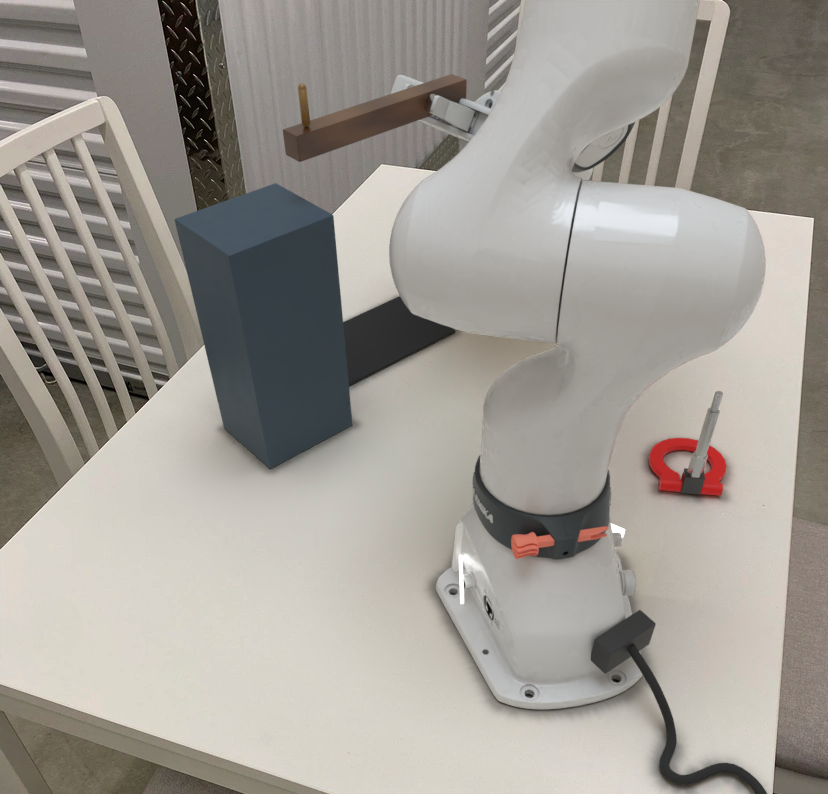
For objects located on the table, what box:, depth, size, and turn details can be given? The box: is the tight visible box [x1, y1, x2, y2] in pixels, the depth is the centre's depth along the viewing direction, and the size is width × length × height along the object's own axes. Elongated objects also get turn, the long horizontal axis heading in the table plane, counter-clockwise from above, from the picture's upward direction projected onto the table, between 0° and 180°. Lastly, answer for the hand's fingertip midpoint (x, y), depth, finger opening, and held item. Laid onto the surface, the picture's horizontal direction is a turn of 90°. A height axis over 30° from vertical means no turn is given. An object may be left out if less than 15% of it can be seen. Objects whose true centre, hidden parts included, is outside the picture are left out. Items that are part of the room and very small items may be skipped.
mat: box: [343, 295, 456, 387], centre depth 111 cm, size 20×12×1 cm, turn 131°
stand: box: [173, 182, 353, 470], centre depth 89 cm, size 12×10×26 cm
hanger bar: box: [282, 73, 468, 163], centre depth 82 cm, size 22×2×6 cm, turn 131°
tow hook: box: [648, 390, 728, 497], centre depth 88 cm, size 8×13×9 cm
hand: (418, 97), depth 85 cm, fingers closed on hanger bar, 2 cm apart
